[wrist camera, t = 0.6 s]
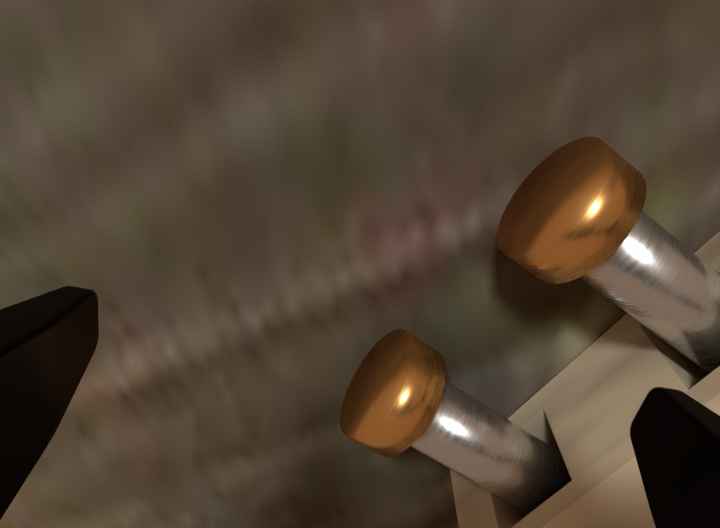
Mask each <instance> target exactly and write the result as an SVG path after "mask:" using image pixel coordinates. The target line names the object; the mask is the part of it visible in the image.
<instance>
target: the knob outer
mask: <svg viewBox="0 0 720 528" xmlns="http://www.w3.org/2000/svg"><path fill="white" fill-rule="evenodd" d="M445 380H446V363H445V360H444V358H443V356H442V354H441V353H440V352H438V351H437V350H435V349H433V348H432V347H430V346H429V345H427V344H425V343H424V342H422V341H421V340H419V339H418V338H416V337H414V336H413V335H411V334H410V333H408V332H407V331H405V330H402V329H399V330H395V331H392V332H390V333H389V334H387V335H386V336H385V337H383V338H382V339H381V340H380V341H379V342H378V343H377V344H376V345H375V346H374V347H373V348H372V349H371V350H370V352H369V353H368V354H367V356H366V357H365V358H364V360H363V361H362V363H361V364H360V366H359V368H358V369H357V371H356V373H355V375H354V376H353V378H352V380H351V383H350V385H349V387H348V389H347V392H346V395H345V398H344V401H343V404H342V409H341V415H340V426H341V430H342V432H343V434H344V435H345V436H347V437H349V438H351V439H353V440H354V441H356V442H358V443H360V444H362V445H363V446H365V447H367V448H369V449H371V450H372V451H374V452H376V453H378V454H380V455H382V456H384V457H392V456H395V455H398V454H400V453H401V452H403V451H404V450H406V449H407V448H408V447H409V446H411V447H412V448H414V449H416V450H418V451H419V452H421V453H423V454H425V455H426V456H428V457H430V458H432V459H434V460H435V461H437V462H439V463H441V464H442V465H444V466H446V467H448V468H449V469H451V470H453V471H455V472H456V473H458V474H460V475H462V476H463V477H465V478H467V479H469V480H470V481H472V482H474V483H476V484H477V485H479V486H481V487H483V488H484V489H486V490H488V491H490V492H491V493H493V494H495V495H497V496H498V497H500V498H502V499H504V500H506V501H507V502H509V503H511V504H513V505H514V506H516V507H518V508H520V509H521V510H523V511H525V512H527V513H528V514H529V513H531V512H532V511H533V510H535V509H536V508H537V507H538V506H540V505H541V504H542V503H544V502H545V501H546V500H547V499H549V498H550V497H551V496H553V495H554V494H555V493H556V492H558V491H559V490H560V489H562V488H563V487H564V486H565V485H567V484H568V483H569V482H571V481H572V479H571V477H570V474H569V472H568V469H567V467H566V464H565V462H564V459H563V457H562V454H561V452H560V451H558V450H556V449H555V448H553V447H552V446H550V445H548V444H547V443H545V442H544V441H542V440H540V439H539V438H537V437H535V436H534V435H532V434H531V433H529V432H527V431H526V430H524V429H523V428H521V427H519V426H518V425H516V424H514V423H513V422H511V421H510V420H508V419H506V418H505V417H503V416H502V415H500V414H498V413H497V412H495V411H494V410H492V409H490V408H489V407H487V406H485V405H484V404H482V403H481V402H479V401H477V400H476V399H474V398H473V397H471V396H469V395H468V394H466V393H464V392H463V391H461V390H460V389H458V388H456V387H455V386H453V385H452V384H450V383H448V382H447V381H445Z"/></svg>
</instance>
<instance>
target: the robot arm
mask: <svg viewBox="0 0 720 528" xmlns="http://www.w3.org/2000/svg"><path fill="white" fill-rule="evenodd" d="M98 335H99V331H98V298H97V295H96V293H95V292H94V291H93V290H90V289H85V288H79V287H73V286H65V287H62V288H59V289H56V290H54V291H51V292H48V293H45V294H42V295H40V296H37V297H34V298H31V299H29V300H26V301H23V302H20V303H17V304H15V305H12V306H9V307H6V308H3V309H1V310H0V520H1V518H2V516H3V515H4V513H5V512H6V510H7V509H8V507H9V505H10V504H11V502H12V501H13V499H14V498H15V496H16V494H17V493H18V491H19V490H20V488H21V487H22V485H23V483H24V482H25V480H26V479H27V477H28V475H29V474H30V472H31V471H32V469H33V468H34V466H35V464H36V463H37V461H38V460H39V458H40V457H41V455H42V453H43V452H44V450H45V449H46V447H47V445H48V444H49V442H50V440H51V439H52V437H53V435H54V434H55V432H56V430H57V428H58V426H59V424H60V422H61V420H62V418H63V416H64V414H65V412H66V410H67V407H68V405H69V403H70V401H71V399H72V397H73V395H74V393H75V391H76V389H77V387H78V385H79V383H80V380H81V378H82V376H83V374H84V372H85V370H86V368H87V366H88V364H89V362H90V360H91V358H92V356H93V353H94V351H95V349H96V346H97V342H98ZM630 438H631V442H632V446H633V449H634V453H635V457H636V460H637V464H638V468H639V471H640V475H641V478H642V482H643V486H644V489H645V493H646V497H647V500H648V504H649V508H650V511H651V514H652V518H653V521H654V524H655V527H656V528H720V416H719V415H718V414H716V413H715V412H713V411H712V410H710V409H709V408H707V407H706V406H704V405H702V404H701V403H699V402H698V401H696V400H695V399H693V398H692V397H690V396H689V395H687V394H686V393H684V392H682V391H680V390H676V389H670V388H664V387H655V388H653V389H651V390H650V391H649V392H648V394H647V396H646V397H645V399H644V401H643V403H642V405H641V406H640V408H639V410H638V412H637V413H636V415H635V417H634V419H633V421H632V423H631V426H630Z"/></svg>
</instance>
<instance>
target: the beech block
mask: <svg viewBox="0 0 720 528" xmlns="http://www.w3.org/2000/svg"><path fill="white" fill-rule="evenodd" d="M695 254H696V255H697V256H698V257H700V258H701V259H702V260H703V261H704V262H706V263H707V264H708V265H709V266H711V267H712V268H713V269H714V270H715V271H717V272H718V273H719V274H720V231H719V232H718V233H717V234H715V235H714V236H713V237H712V238H711V239H710V240H709V241H708V242H706V243H705V244H704V245H703V246H702V247H701V248H700V249H699V250H697V251H696V252H695ZM655 387H664V388H670V389H676V390H680V391H682V392H684V393H686V394H687V395H689V396H690V397H692V398H693V399H695V400H696V401H698V402H699V403H701V404H702V405H704V406H706V407H707V408H709V409H710V410H712V411H713V412H715V413H716V414H718V415H719V416H720V366H719V367H718V368H716V369H715V370H714V371H712V372H711V373H710V374H709V373H708V372H707V371H705V370H704V369H703V368H701V367H700V366H699V365H697V364H696V363H695V362H693V361H692V360H690V359H689V358H688V357H686V356H685V355H684V354H682V353H681V352H680V351H678V350H677V349H676V348H674V347H673V346H672V345H670V344H669V343H667V342H666V341H665V340H663V339H662V338H661V337H659V336H658V335H657V334H655V333H654V332H653V331H651V330H650V329H649V328H647V327H646V326H644V325H643V324H642V323H640V322H639V321H638V320H636V319H635V318H634V317H632V316H631V315H630V314H628V313H626V314H625V315H624V316H623V317H622V318H621V319H620V320H618V321H617V322H616V323H615V324H614V325H613V326H612V327H611V328H609V329H608V330H607V331H606V332H605V333H604V334H603V335H602V336H600V337H599V338H598V339H597V340H596V341H595V342H594V343H593V344H591V345H590V346H589V347H588V348H587V349H586V350H585V351H583V352H582V353H581V354H580V355H579V356H578V357H577V358H576V359H574V360H573V361H572V362H571V363H570V364H569V365H568V366H567V367H565V368H564V369H563V370H562V371H561V372H560V373H559V374H558V375H556V376H555V377H554V378H553V379H552V380H551V381H550V382H549V383H547V384H546V385H545V386H544V387H543V388H542V389H541V390H539V391H538V392H537V393H536V394H535V395H534V396H533V397H532V398H530V399H529V400H528V401H527V402H526V403H525V404H524V405H523V406H521V407H520V408H519V409H518V410H517V411H516V412H515V413H514V414H512V415H511V416H510V417H509V418H508V420H510V421H511V422H513V423H514V424H516V425H518V426H519V427H521V428H523V429H524V430H526V431H527V432H529V433H531V434H532V435H534V436H535V437H537V438H539V439H540V440H542V441H544V442H545V443H547V444H548V445H550V446H552V447H553V448H555V449H556V450H558V451H560V452H561V454H562V457H563V459H564V462H565V464H566V467H567V469H568V472H569V474H570V477H571V479H572V481H571V482H569V483H568V484H567V485H565V486H564V487H563V488H562V489H560V490H559V491H558V492H556V493H555V494H554V495H553V496H551V497H550V498H549V499H547V500H546V501H545V502H544V503H542V504H541V505H540V506H538V507H537V508H536V509H535V510H533V511H532V512H531V513H529V514H528V513H527V512H525V511H523V510H521V509H520V508H518V507H516V506H514V505H513V504H511V503H509V502H507V501H506V500H504V499H502V498H500V497H498V496H497V495H495V494H493V493H491V492H490V491H488V490H486V489H484V488H483V487H481V486H479V485H477V484H476V483H474V482H472V481H470V480H469V479H467V478H465V477H463V476H462V475H460V474H458V473H456V472H455V471H453V470H451V469H450V474H451V480H452V486H453V493H454V499H455V505H456V512H457V518H458V525H459V528H656V527H655V524H654V521H653V518H652V514H651V511H650V508H649V504H648V500H647V497H646V493H645V489H644V486H643V482H642V478H641V475H640V471H639V468H638V464H637V460H636V457H635V453H634V449H633V446H632V442H631V438H630V426H631V423H632V421H633V419H634V417H635V415H636V413H637V412H638V410H639V408H640V406H641V405H642V403H643V401H644V399H645V397H646V396H647V394H648V392H649V391H650V390H651V389H653V388H655Z"/></svg>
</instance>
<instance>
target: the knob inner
mask: <svg viewBox="0 0 720 528" xmlns="http://www.w3.org/2000/svg"><path fill="white" fill-rule="evenodd" d="M645 198H646V183H645V179H644V177H643V176H642V174H641V173H640V172H639V171H638V170H637V169H635V168H634V167H633V166H632V165H631V164H629V163H628V162H627V161H626V160H625V159H624V158H622V157H621V156H620V155H619V154H618V153H616V152H615V151H614V150H613V149H612V148H610V147H609V146H608V145H607V144H606V143H604V142H603V141H602V140H601V139H599V138H597V137H584V138H580V139H577V140H574V141H572V142H570V143H568V144H566V145H564V146H563V147H561V148H559V149H558V150H556V151H555V152H554V153H552V154H551V155H550V156H548V157H547V158H546V159H545V160H544V161H543V162H541V163H540V164H539V165H538V166H537V167H536V168H535V169H534V170H533V171H532V172H531V173H530V174H529V176H528V177H527V178H526V179H525V180H524V181H523V183H522V184H521V185H520V187H519V188H518V189H517V191H516V192H515V194H514V195H513V197H512V198H511V200H510V201H509V203H508V205H507V207H506V209H505V211H504V213H503V215H502V218H501V221H500V224H499V227H498V233H497V243H498V247H499V249H500V250H501V252H503V253H504V254H505V255H506V256H508V257H509V258H511V259H512V260H513V261H515V262H516V263H517V264H519V265H520V266H522V267H523V268H524V269H526V270H527V271H529V272H530V273H531V274H533V275H534V276H536V277H537V278H538V279H540V280H541V281H543V282H545V283H550V284H560V283H565V282H569V281H572V280H574V279H577V278H579V277H580V278H581V279H582V280H584V281H585V282H586V283H588V284H589V285H590V286H592V287H593V288H594V289H596V290H597V291H598V292H600V293H601V294H603V295H604V296H605V297H607V298H608V299H609V300H611V301H612V302H613V303H615V304H616V305H617V306H619V307H620V308H621V309H623V310H624V311H626V312H627V313H628V314H630V315H631V316H632V317H634V318H635V319H636V320H638V321H639V322H640V323H642V324H643V325H644V326H646V327H647V328H649V329H650V330H651V331H653V332H654V333H655V334H657V335H658V336H659V337H661V338H662V339H663V340H665V341H666V342H667V343H669V344H670V345H672V346H673V347H674V348H676V349H677V350H678V351H680V352H681V353H682V354H684V355H685V356H686V357H688V358H689V359H690V360H692V361H693V362H695V363H696V364H697V365H699V366H700V367H701V368H703V369H704V370H705V371H707V372H708V373H709V374H710V373H711V372H712V371H714V370H715V369H716V368H718V367H719V366H720V274H719V273H718V272H717V271H715V270H714V269H713V268H712V267H711V266H709V265H708V264H707V263H706V262H704V261H703V260H702V259H701V258H700V257H698V256H697V255H696V254H695V253H693V252H692V251H691V250H690V249H688V248H687V247H686V246H685V245H684V244H682V243H681V242H680V241H679V240H677V239H676V238H675V237H674V236H673V235H671V234H670V233H669V232H668V231H666V230H665V229H664V228H663V227H661V226H660V225H659V224H658V223H657V222H655V221H654V220H653V219H652V218H650V217H649V216H648V215H647V214H645V213H644V212H643V211H642V208H643V206H644V202H645Z"/></svg>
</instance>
